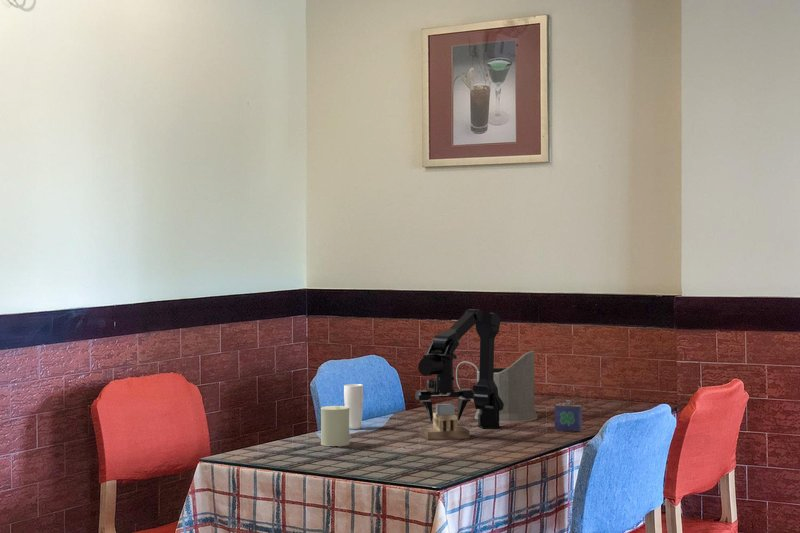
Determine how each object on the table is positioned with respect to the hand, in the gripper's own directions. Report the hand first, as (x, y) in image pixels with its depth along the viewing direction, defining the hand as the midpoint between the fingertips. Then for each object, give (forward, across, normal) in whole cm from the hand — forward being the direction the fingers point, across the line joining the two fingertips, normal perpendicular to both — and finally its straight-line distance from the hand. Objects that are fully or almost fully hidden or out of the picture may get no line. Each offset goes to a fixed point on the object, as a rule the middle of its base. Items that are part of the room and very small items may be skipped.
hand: (444, 420), depth 325 cm
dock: (+5, 0, 0) cm, 5 cm away
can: (+6, +37, +4) cm, 38 cm away
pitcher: (+6, -30, -39) cm, 50 cm away
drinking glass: (+6, +26, -25) cm, 36 cm away
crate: (-2, 0, 0) cm, 2 cm away
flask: (+6, -43, 0) cm, 43 cm away
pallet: (+3, 0, 0) cm, 3 cm away
